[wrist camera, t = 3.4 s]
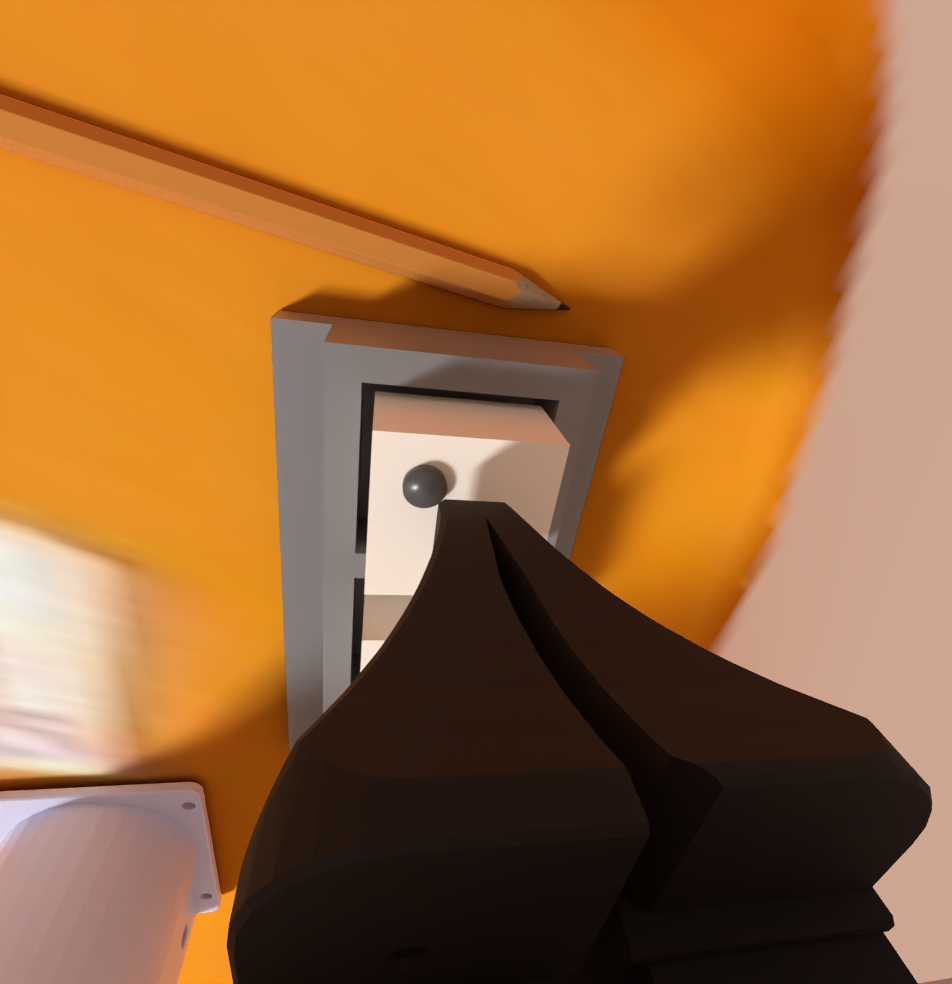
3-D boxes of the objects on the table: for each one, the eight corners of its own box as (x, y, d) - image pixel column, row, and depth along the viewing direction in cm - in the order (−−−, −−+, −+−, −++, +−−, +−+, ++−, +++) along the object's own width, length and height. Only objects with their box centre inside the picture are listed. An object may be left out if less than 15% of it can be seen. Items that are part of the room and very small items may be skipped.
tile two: (512, 541, 15) (535, 602, 12) (367, 535, 14) (363, 600, 12) (540, 405, 13) (573, 449, 11) (375, 391, 12) (371, 434, 10)
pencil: (-391, 33, 9) (558, 331, 15) (-474, -21, 8) (575, 319, 14) (-375, -15, 9) (564, 298, 15) (-457, -74, 8) (581, 285, 14)
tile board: (509, 739, 23) (524, 803, 20) (293, 747, 21) (281, 818, 19) (611, 347, 15) (654, 376, 12) (278, 309, 13) (253, 334, 11)
